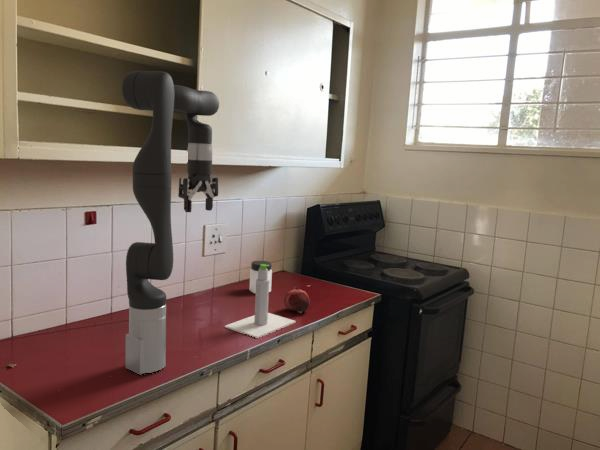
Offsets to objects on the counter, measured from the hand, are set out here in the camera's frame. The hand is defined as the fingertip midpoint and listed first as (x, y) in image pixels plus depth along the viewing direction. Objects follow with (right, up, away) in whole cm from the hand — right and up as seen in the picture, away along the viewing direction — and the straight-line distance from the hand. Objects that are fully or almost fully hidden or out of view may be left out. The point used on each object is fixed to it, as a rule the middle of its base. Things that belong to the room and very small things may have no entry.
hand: (198, 211), depth 156 cm
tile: (+18, -38, +12) cm, 44 cm away
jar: (+15, -32, +51) cm, 62 cm away
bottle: (+18, -37, +12) cm, 43 cm away
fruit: (+30, -36, +28) cm, 55 cm away
